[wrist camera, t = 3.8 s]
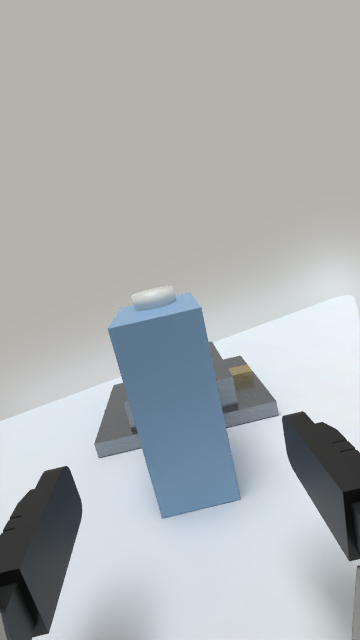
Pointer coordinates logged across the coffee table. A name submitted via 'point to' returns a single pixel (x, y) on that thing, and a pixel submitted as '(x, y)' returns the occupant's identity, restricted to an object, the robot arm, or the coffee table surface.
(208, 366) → the blue tall box
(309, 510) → the coffee table surface
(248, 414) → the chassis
